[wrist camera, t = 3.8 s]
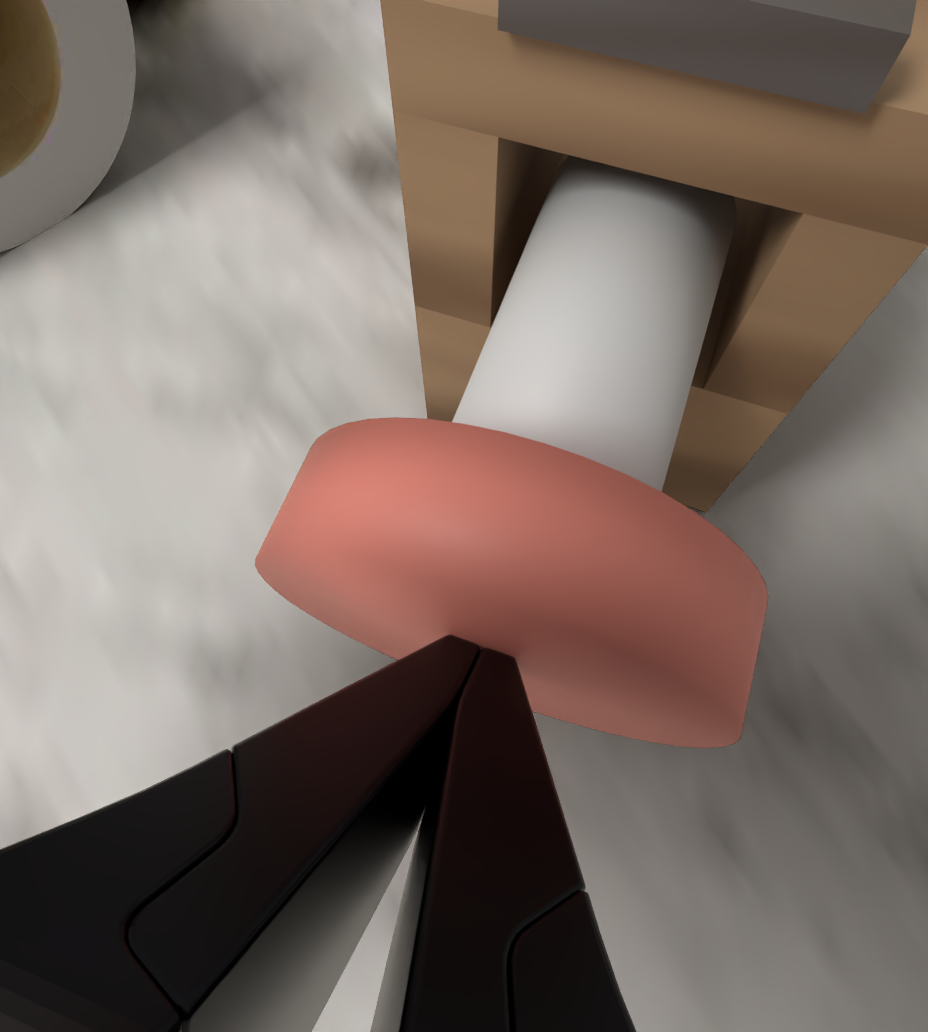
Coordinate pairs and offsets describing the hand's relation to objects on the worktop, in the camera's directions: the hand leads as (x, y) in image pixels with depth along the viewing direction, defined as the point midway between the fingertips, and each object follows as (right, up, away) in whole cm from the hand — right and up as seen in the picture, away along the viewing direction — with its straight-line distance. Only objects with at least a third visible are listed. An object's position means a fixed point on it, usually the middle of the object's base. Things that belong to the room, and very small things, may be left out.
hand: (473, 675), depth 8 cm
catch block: (+3, +6, +10) cm, 12 cm away
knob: (+1, +2, +4) cm, 5 cm away
